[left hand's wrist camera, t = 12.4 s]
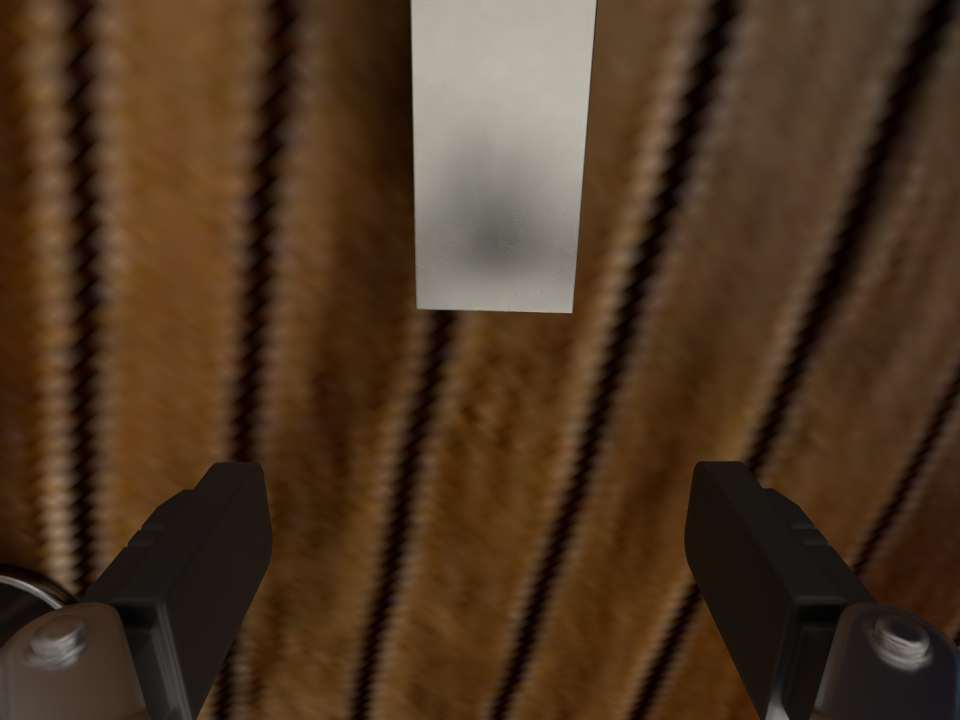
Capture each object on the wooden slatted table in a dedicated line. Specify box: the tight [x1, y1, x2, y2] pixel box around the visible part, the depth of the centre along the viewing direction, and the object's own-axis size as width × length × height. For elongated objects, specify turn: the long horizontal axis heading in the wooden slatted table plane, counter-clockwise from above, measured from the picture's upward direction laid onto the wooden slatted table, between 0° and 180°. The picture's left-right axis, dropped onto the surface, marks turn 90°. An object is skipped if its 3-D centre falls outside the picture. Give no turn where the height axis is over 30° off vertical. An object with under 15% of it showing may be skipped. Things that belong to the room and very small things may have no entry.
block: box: [410, 0, 598, 313], centre depth 22 cm, size 5×9×10 cm, turn 179°
